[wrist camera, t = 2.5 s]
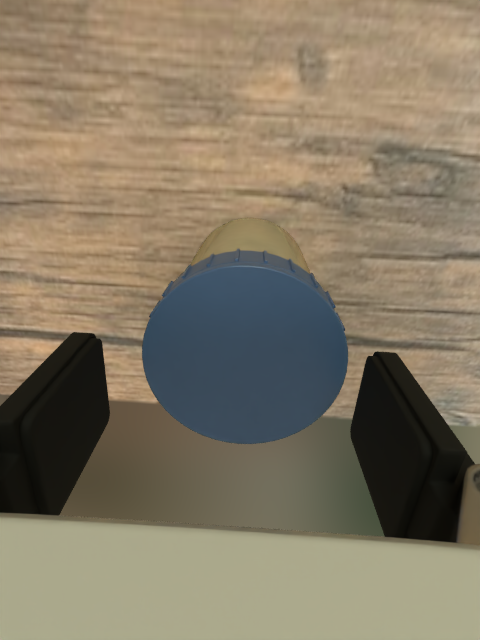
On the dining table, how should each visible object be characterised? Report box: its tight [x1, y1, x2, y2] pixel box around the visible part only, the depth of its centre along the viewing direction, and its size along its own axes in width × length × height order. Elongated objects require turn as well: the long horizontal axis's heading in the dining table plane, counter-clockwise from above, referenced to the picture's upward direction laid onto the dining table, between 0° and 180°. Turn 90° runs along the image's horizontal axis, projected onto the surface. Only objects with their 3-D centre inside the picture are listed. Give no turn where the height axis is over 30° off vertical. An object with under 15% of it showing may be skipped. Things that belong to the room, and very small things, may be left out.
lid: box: [142, 249, 348, 444], centre depth 13 cm, size 7×7×2 cm
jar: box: [190, 218, 311, 274], centre depth 17 cm, size 6×6×10 cm
